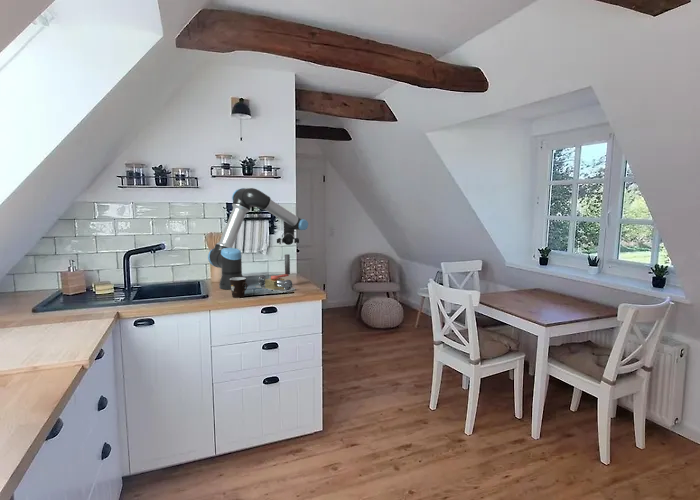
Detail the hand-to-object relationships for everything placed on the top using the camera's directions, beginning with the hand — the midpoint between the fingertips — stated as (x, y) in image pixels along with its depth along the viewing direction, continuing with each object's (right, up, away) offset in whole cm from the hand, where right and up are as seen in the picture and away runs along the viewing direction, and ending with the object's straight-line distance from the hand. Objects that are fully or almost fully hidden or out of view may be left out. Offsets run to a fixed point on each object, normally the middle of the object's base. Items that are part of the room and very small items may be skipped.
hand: (287, 242), depth 261 cm
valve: (-5, -28, -17) cm, 33 cm away
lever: (-2, -22, -14) cm, 26 cm away
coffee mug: (-21, -31, -38) cm, 53 cm away
